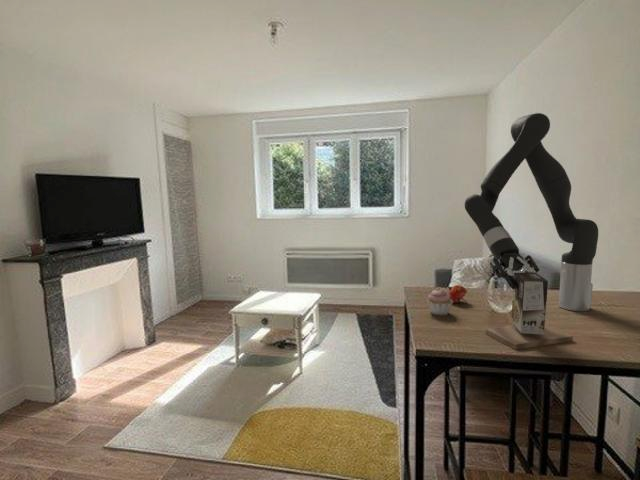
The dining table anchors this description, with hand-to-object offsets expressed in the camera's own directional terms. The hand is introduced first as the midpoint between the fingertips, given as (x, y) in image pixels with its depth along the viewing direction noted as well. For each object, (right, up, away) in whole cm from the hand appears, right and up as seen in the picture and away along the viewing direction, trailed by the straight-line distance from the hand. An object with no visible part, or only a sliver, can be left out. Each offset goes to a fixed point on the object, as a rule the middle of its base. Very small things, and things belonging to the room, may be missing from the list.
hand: (527, 286), depth 105 cm
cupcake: (-18, -13, +24) cm, 33 cm away
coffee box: (0, -12, +1) cm, 13 cm away
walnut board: (+1, -15, +1) cm, 15 cm away
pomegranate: (-7, -11, +36) cm, 38 cm away
